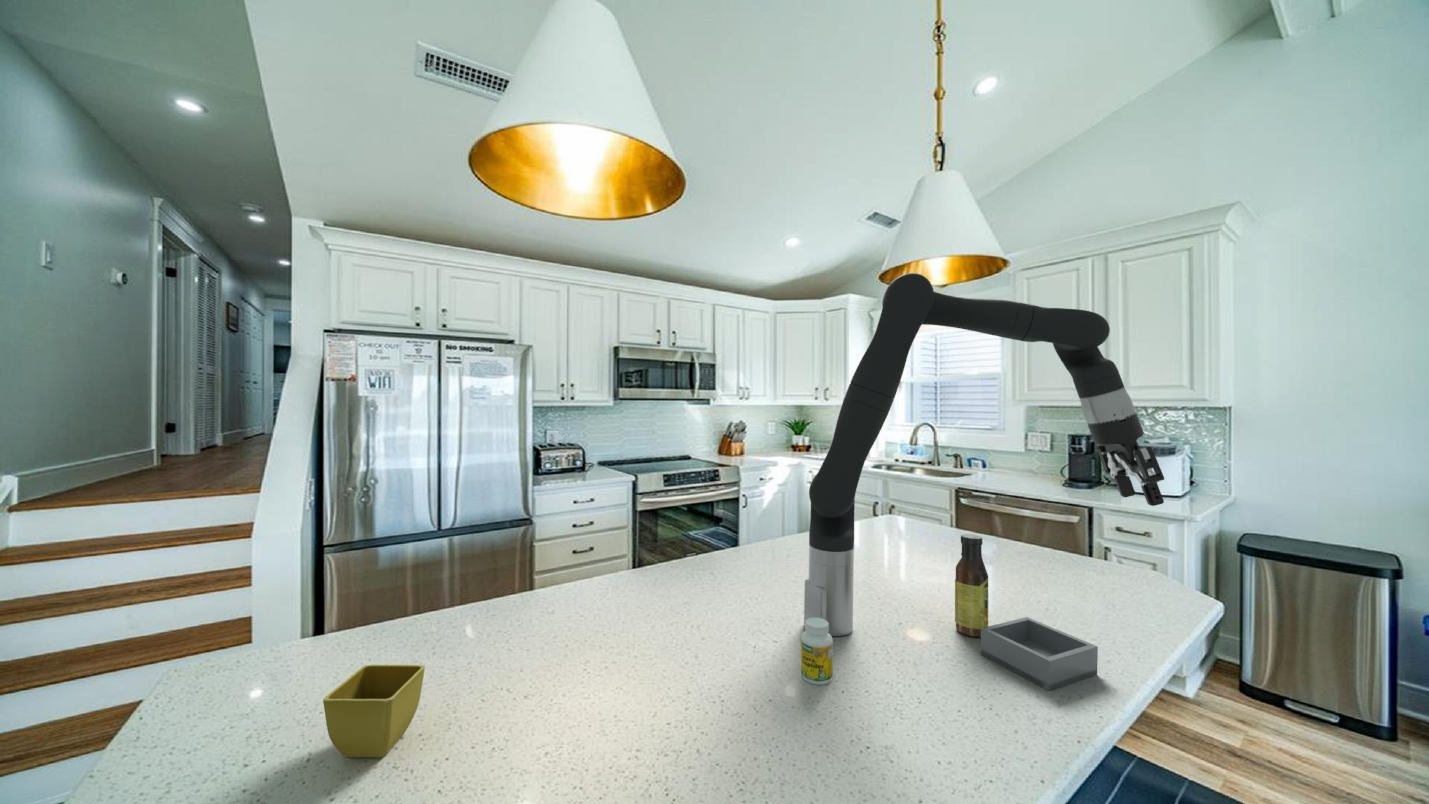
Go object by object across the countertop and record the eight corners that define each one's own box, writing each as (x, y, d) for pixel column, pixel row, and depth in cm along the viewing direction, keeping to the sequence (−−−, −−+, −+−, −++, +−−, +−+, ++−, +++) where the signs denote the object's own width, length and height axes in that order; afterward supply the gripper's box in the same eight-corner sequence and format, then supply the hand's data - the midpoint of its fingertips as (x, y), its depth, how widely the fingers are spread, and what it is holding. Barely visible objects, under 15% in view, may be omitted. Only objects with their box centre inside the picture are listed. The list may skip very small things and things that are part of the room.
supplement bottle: (836, 674, 89) (837, 619, 89) (827, 689, 85) (827, 632, 85) (806, 666, 92) (807, 613, 92) (796, 680, 87) (797, 624, 87)
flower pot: (426, 725, 74) (426, 663, 74) (390, 768, 66) (390, 699, 66) (364, 725, 74) (365, 664, 74) (320, 769, 65) (320, 700, 65)
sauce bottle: (992, 640, 102) (994, 542, 102) (959, 637, 104) (960, 539, 103) (982, 626, 109) (983, 533, 109) (950, 623, 110) (952, 531, 110)
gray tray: (1049, 691, 85) (1049, 661, 85) (980, 654, 97) (981, 628, 97) (1097, 674, 90) (1097, 646, 90) (1026, 641, 102) (1026, 617, 102)
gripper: (1071, 421, 103) (1099, 499, 101) (1108, 423, 89) (1142, 513, 87) (1111, 409, 101) (1141, 488, 100) (1156, 409, 87) (1191, 501, 86)
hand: (1142, 500), depth 94 cm, fingers open, 8 cm apart
